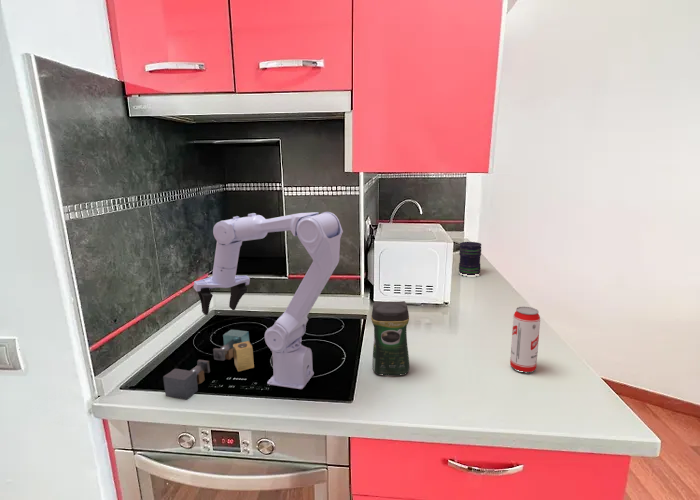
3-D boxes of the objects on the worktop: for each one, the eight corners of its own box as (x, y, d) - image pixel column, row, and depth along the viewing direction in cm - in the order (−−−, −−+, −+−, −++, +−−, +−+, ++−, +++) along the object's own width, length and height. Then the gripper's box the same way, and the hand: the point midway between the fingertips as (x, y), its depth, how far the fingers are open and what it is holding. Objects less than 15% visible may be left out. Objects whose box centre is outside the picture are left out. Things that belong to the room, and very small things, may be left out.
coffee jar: (407, 362, 108) (408, 297, 104) (410, 377, 100) (411, 307, 96) (371, 362, 109) (371, 297, 105) (371, 377, 101) (371, 307, 97)
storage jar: (466, 270, 196) (467, 240, 193) (484, 274, 189) (485, 243, 186) (454, 274, 190) (455, 243, 187) (472, 278, 183) (473, 246, 180)
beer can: (537, 366, 104) (542, 308, 101) (534, 377, 99) (539, 316, 96) (511, 360, 108) (515, 304, 104) (507, 371, 102) (511, 312, 99)
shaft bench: (249, 347, 119) (248, 331, 118) (186, 399, 93) (184, 380, 92) (232, 344, 121) (230, 329, 120) (165, 395, 95) (163, 376, 93)
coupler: (250, 361, 111) (248, 340, 109) (254, 367, 107) (252, 346, 106) (234, 364, 109) (232, 344, 107) (238, 371, 105) (236, 350, 104)
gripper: (243, 256, 110) (236, 299, 114) (191, 260, 99) (185, 307, 104) (256, 266, 105) (248, 311, 109) (202, 272, 95) (196, 321, 99)
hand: (218, 310), depth 106 cm, fingers open, 7 cm apart
